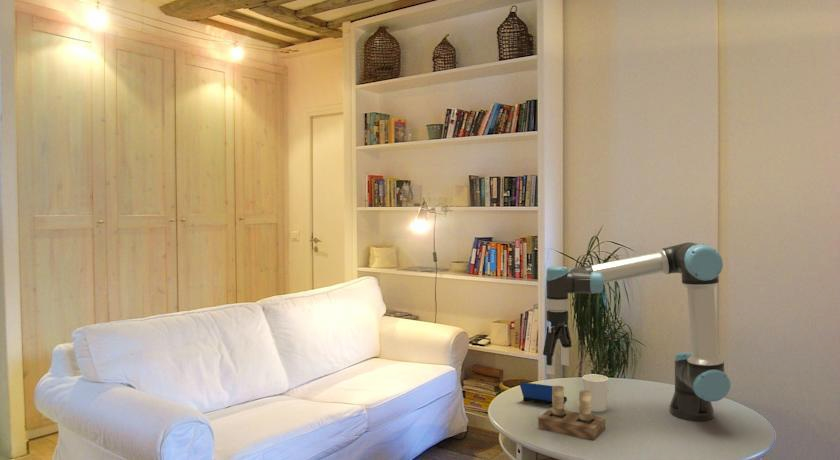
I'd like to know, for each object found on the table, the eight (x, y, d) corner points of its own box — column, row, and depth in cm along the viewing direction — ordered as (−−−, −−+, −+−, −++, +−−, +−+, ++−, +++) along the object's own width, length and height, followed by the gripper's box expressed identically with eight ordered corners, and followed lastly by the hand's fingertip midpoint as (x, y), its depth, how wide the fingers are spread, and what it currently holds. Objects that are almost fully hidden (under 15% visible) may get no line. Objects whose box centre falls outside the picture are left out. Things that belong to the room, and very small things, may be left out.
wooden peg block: (605, 429, 212) (605, 389, 211) (593, 440, 202) (593, 399, 202) (551, 418, 224) (551, 380, 223) (538, 428, 214) (537, 389, 213)
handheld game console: (567, 400, 244) (567, 377, 243) (557, 410, 232) (557, 386, 232) (530, 394, 252) (530, 373, 251) (519, 404, 240) (518, 381, 240)
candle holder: (605, 404, 238) (605, 374, 237) (611, 412, 228) (611, 381, 227) (580, 403, 239) (580, 373, 238) (584, 412, 229) (584, 381, 228)
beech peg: (566, 425, 216) (565, 386, 216) (561, 428, 213) (561, 389, 212) (555, 422, 219) (554, 384, 218) (550, 426, 215) (550, 387, 215)
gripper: (560, 303, 226) (561, 360, 227) (532, 314, 206) (533, 376, 207) (580, 305, 222) (580, 362, 223) (553, 316, 202) (554, 379, 203)
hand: (557, 369), depth 215 cm, fingers open, 13 cm apart
